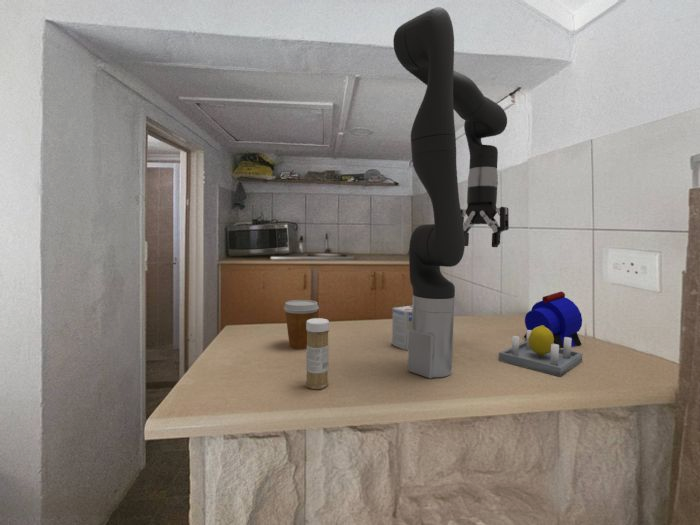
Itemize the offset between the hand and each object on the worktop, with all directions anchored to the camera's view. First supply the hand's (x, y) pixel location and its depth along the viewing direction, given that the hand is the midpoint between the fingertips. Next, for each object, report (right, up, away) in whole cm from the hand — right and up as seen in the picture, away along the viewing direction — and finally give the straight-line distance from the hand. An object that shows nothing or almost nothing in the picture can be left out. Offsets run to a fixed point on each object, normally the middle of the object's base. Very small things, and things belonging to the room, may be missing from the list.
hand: (479, 246), depth 99 cm
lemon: (+12, -28, -8) cm, 32 cm away
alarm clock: (+25, -28, +10) cm, 39 cm away
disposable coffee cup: (-49, -27, +1) cm, 56 cm away
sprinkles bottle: (-42, -29, -25) cm, 57 cm away
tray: (+13, -29, -8) cm, 32 cm away
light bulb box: (-17, -28, +4) cm, 33 cm away
